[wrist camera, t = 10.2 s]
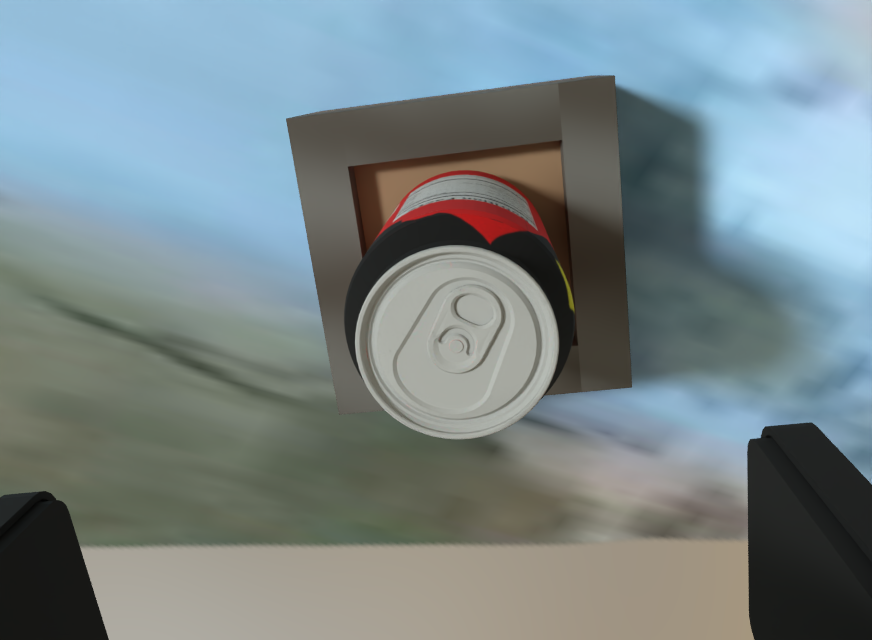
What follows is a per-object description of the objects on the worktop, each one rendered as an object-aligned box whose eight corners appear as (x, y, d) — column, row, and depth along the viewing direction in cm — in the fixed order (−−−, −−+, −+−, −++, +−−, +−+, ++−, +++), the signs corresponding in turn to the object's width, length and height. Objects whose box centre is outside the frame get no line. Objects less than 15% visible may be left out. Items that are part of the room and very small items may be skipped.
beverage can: (363, 284, 31) (295, 402, 20) (424, 140, 29) (389, 178, 18) (503, 346, 32) (515, 496, 20) (572, 207, 30) (630, 287, 18)
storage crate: (320, 111, 34) (286, 118, 28) (591, 75, 33) (614, 75, 27) (361, 361, 38) (339, 414, 32) (608, 337, 37) (632, 387, 31)
